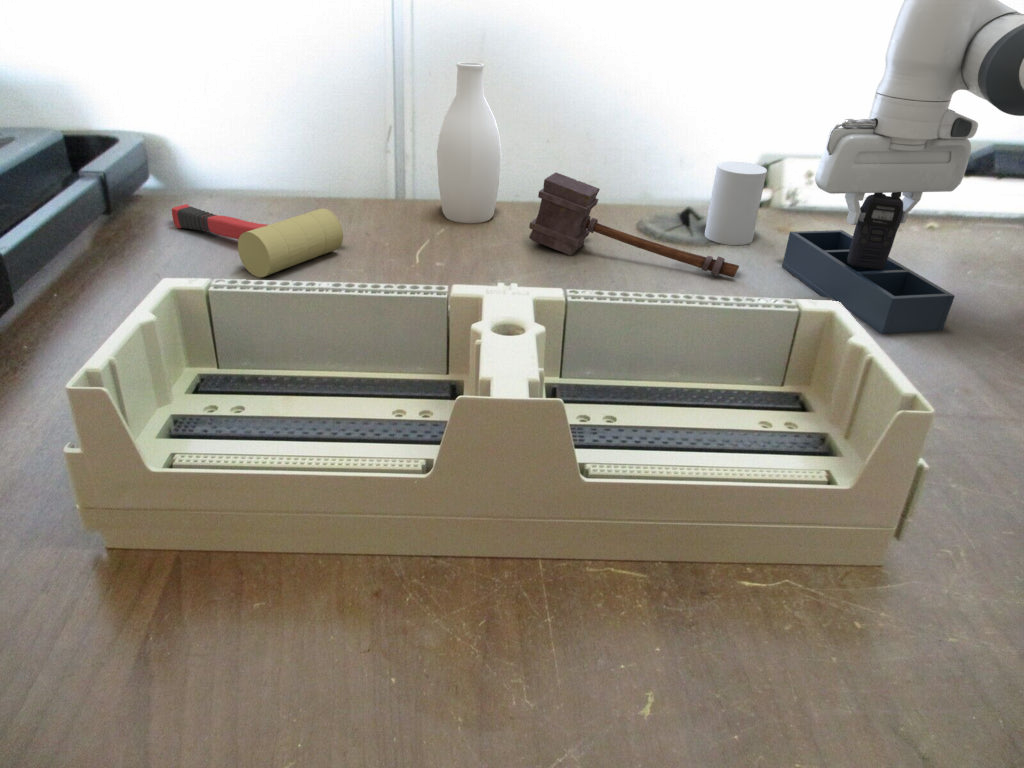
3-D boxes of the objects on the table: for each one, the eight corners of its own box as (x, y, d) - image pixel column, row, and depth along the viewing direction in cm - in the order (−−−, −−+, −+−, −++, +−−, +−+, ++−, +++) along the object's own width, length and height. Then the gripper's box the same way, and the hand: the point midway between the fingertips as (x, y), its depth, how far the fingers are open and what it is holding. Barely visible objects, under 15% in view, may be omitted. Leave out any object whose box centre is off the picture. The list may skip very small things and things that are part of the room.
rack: (833, 264, 123) (842, 230, 120) (940, 335, 101) (955, 295, 99) (781, 266, 121) (789, 231, 118) (879, 339, 100) (892, 298, 97)
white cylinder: (762, 242, 131) (777, 172, 125) (722, 247, 128) (736, 175, 122) (733, 227, 137) (746, 160, 131) (695, 231, 135) (707, 162, 129)
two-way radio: (845, 267, 107) (877, 159, 100) (841, 257, 111) (871, 152, 104) (887, 272, 106) (922, 164, 99) (882, 262, 110) (915, 156, 103)
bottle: (464, 230, 130) (465, 70, 117) (424, 213, 137) (422, 61, 124) (512, 218, 137) (518, 65, 124) (472, 203, 144) (474, 57, 131)
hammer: (540, 226, 129) (555, 169, 123) (725, 299, 121) (750, 242, 116) (524, 238, 123) (539, 179, 118) (717, 315, 116) (742, 256, 110)
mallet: (144, 246, 122) (273, 281, 107) (135, 205, 119) (266, 236, 104) (218, 224, 132) (345, 253, 118) (211, 186, 129) (340, 211, 115)
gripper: (847, 124, 94) (820, 232, 101) (990, 124, 98) (954, 228, 105) (820, 113, 99) (795, 217, 106) (956, 114, 103) (924, 214, 110)
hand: (875, 222), depth 106 cm, fingers closed on two-way radio, 5 cm apart
